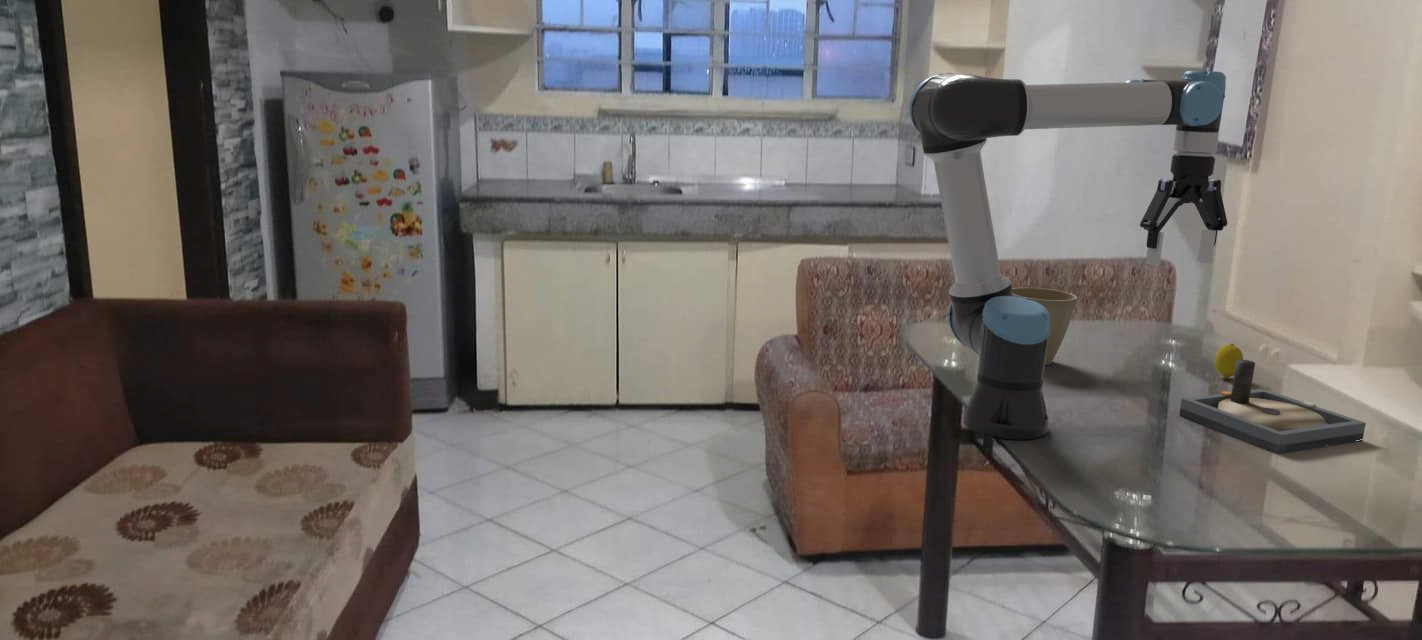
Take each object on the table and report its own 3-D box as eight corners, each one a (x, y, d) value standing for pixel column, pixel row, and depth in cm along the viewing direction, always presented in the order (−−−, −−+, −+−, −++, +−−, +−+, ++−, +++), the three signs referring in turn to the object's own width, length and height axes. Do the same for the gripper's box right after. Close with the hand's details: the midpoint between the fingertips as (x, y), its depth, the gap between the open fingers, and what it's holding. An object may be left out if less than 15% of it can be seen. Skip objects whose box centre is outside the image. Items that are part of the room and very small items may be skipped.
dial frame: (1277, 453, 184) (1281, 432, 183) (1179, 415, 204) (1181, 396, 203) (1362, 440, 193) (1366, 420, 192) (1259, 405, 213) (1262, 386, 212)
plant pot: (1077, 371, 233) (1086, 301, 229) (1010, 368, 233) (1018, 299, 229) (1057, 354, 247) (1065, 288, 244) (994, 351, 248) (1001, 285, 244)
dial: (1346, 430, 194) (1355, 380, 191) (1277, 440, 187) (1286, 389, 184) (1262, 401, 210) (1269, 355, 207) (1196, 409, 203) (1203, 362, 200)
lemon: (1211, 379, 230) (1217, 344, 229) (1213, 373, 235) (1218, 339, 233) (1239, 383, 228) (1245, 348, 226) (1240, 377, 233) (1246, 342, 231)
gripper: (1225, 152, 208) (1209, 258, 213) (1129, 152, 198) (1115, 262, 203) (1257, 155, 201) (1241, 264, 206) (1160, 155, 191) (1145, 269, 196)
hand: (1178, 263), depth 204 cm, fingers open, 13 cm apart
